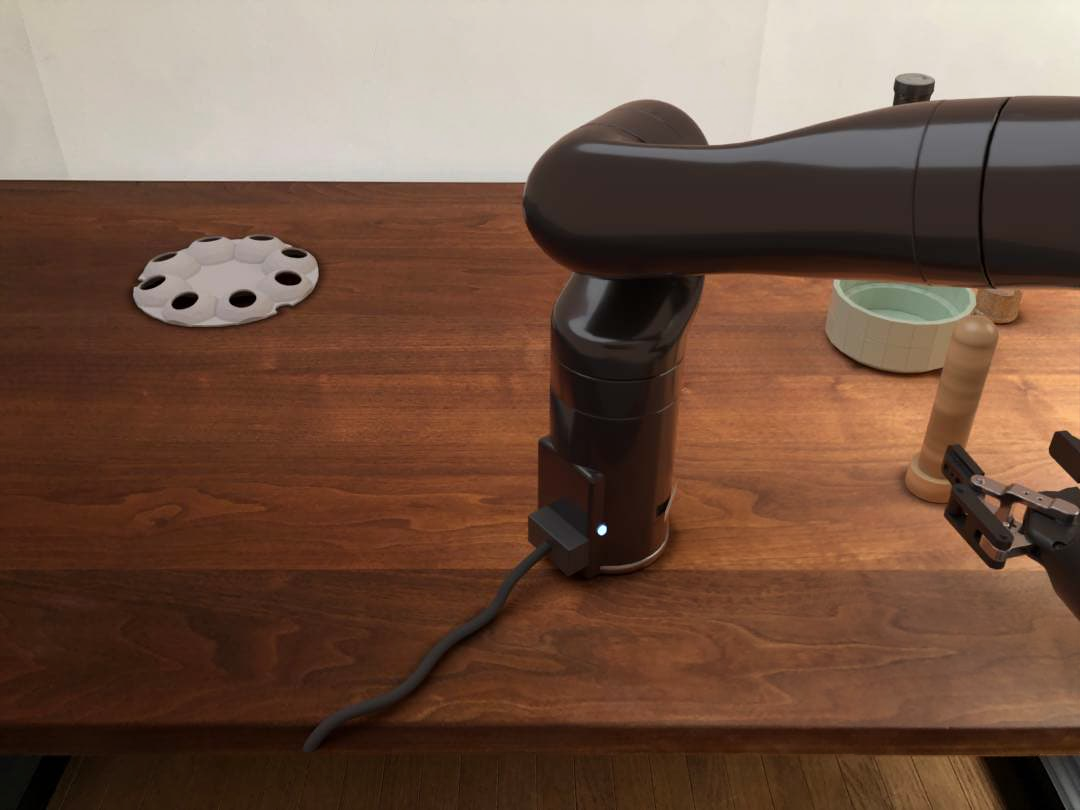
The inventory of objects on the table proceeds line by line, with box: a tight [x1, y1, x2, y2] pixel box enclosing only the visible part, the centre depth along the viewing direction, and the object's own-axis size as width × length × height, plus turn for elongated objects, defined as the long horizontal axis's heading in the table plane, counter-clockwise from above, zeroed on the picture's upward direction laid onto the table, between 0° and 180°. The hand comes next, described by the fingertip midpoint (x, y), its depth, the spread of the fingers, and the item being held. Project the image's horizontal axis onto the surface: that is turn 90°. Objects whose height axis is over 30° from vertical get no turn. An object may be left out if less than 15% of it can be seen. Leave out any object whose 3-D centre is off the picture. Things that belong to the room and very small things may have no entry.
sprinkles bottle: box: [974, 288, 1025, 324], centre depth 106 cm, size 5×5×14 cm
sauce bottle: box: [892, 72, 936, 106], centre depth 116 cm, size 7×6×20 cm
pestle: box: [904, 314, 1000, 504], centre depth 82 cm, size 4×4×16 cm
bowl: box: [824, 280, 976, 374], centre depth 103 cm, size 13×13×6 cm
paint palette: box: [132, 233, 320, 328], centre depth 114 cm, size 20×20×2 cm
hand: (1002, 446), depth 77 cm, fingers open, 8 cm apart
